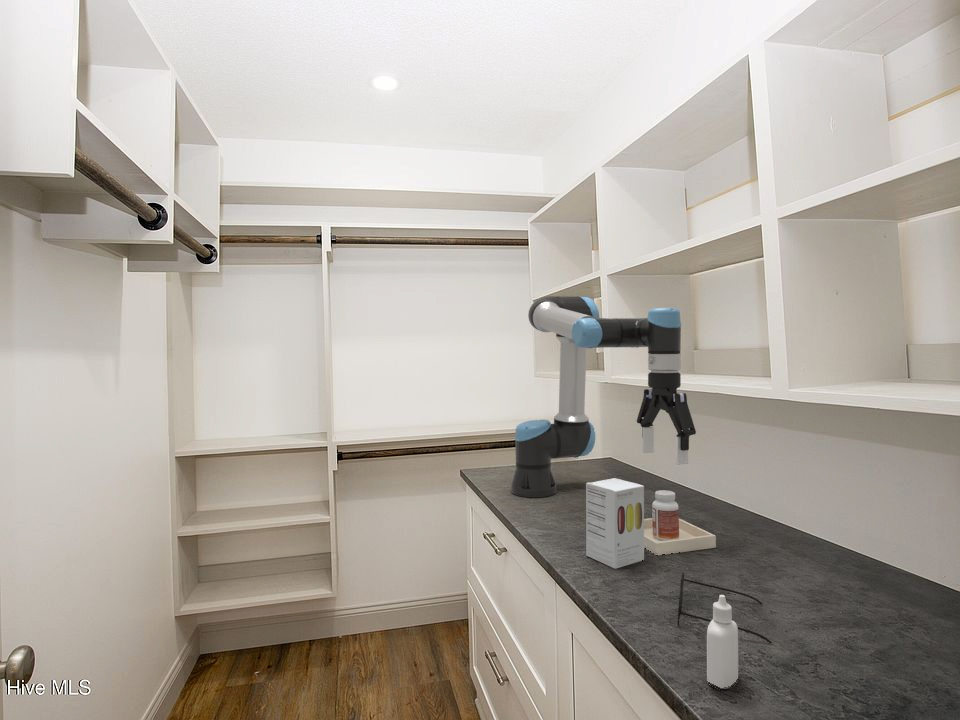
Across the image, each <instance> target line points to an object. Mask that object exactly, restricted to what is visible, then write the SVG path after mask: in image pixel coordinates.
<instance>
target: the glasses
mask: <svg viewBox="0 0 960 720" xmlns="http://www.w3.org/2000/svg"><path fill="white" fill-rule="evenodd" d="M685 582H689V583H692V584H697V585H700V586H705V587H708V588H709V587H710V588H714V589H719V590H722V591H726V592H729V593H733V594H737V595H739V596H740V595H741V596H745V597H747V598H750V599H752V600H754V601H756V602H757V603H759V604H760V605H761V604H764V603H763V602H762V601H760V600H759V599H757V598H756V597H754V596H751V595H749V594H746V593H743V592H740V591H736V590H732V589H729V588H725V587H721V586H717V585H712V584H708V583H703V582H699V581H694V580H690V579H686V578H685V573H681V578H680V591H679V599H678V610H677V611H678V612H677V625H680V618H681V615H684V616H687V617H690V618H695V619H698V620H701V621H706V622H709V623H710V622H711V621H712V620H713V619H709V618H706V617H702V616H697V615H693V614H690V613H687V612H683V611H682V607H683V600H684V590H683V589H684V583H685ZM737 627H738V631H739V630H740V631H743V632H746V633H749V634H752V635H755V636H757V637H760V639H763V640H765V641H766V642H767V643H769V644H770V643H773V642H772V641H771V640H770V639H769V638H767V637H766V636H764V635H762V634H760V633H757V632H755V631H753V630H750V629H747V628H743V627H739V626H737Z"/></svg>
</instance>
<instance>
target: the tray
mask: <svg viewBox="0 0 960 720" xmlns="http://www.w3.org/2000/svg"><path fill="white" fill-rule="evenodd" d="M716 537H717V536H716V535H715V534H713V533H711V532H709V531H707V530H704V529H703V528H700V527H698V526H696V525H694V524H691V523H690V522H687V521H686V520H684V519H681V518H679V538H678V539H675V540H668V541H662V540H658V539H656V538H654V536H653V522H652V517H650V518H644V549H645V548H646V549H645V550H646V551H648V550H649V551H648V552H650V551H651V552H650V553H652V554H653V553H654V554H653V555H655V556H656V555H658V556H663V555H662V554H665V555H670V554H671V553H673V554H678V553H679V552H680V553H685V552H692V551H700V550H706V549H707V550H708V549H714V548H715V549H716V548H717V538H716ZM671 555H672V554H671Z"/></svg>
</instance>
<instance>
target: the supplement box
mask: <svg viewBox="0 0 960 720" xmlns="http://www.w3.org/2000/svg"><path fill="white" fill-rule="evenodd" d="M585 492H586V493H585V502H586V503H585V504H586V505H585V508H586V509H585V512H586V513H585V514H586V515H585V517H586V518H585V520H586V521H585V522H586V523H585V524H586V526H585V531H586V532H585V533H586V534H585V536H586V537H585V539H586V541H585V542H586V543H585V544H586V545H585V548H586V550H585V552H586V554H585V555H586V557H589V558H591V559H593V560H595V561H597V562H599V563H601V564H604V565H606V566H608V567H610V568H612V569H615V570H616V569H620V568H623V567H626V566H629V565H632V564H636V563H639V562H642V560H643V561H644V560H645V548H644V519H645V486H644V485H642V484H639V483H636V482H631V481H627V480H623V479H620V478H615V477H612V478H609V479H608V478H607V479H603V480H597V481H592V482H586V483H585Z"/></svg>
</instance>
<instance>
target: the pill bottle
mask: <svg viewBox="0 0 960 720" xmlns="http://www.w3.org/2000/svg"><path fill="white" fill-rule="evenodd" d="M654 498H655V499H654V500H653V502H652V504H651V509H652V510H651V512H652V517H651V518H652V522H653V536H654V538H656V539H658V540H662V541H668V540H675V539H678V538H679V519H680V517H679V516H680V513H679V511H680V510H679V504H678V503H677V502H676V501H675V500H676V493H675V492H674V491H672V490H665V489H664V490H663V489H662V490H661V489H660V490H656V491H655V492H654Z"/></svg>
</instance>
